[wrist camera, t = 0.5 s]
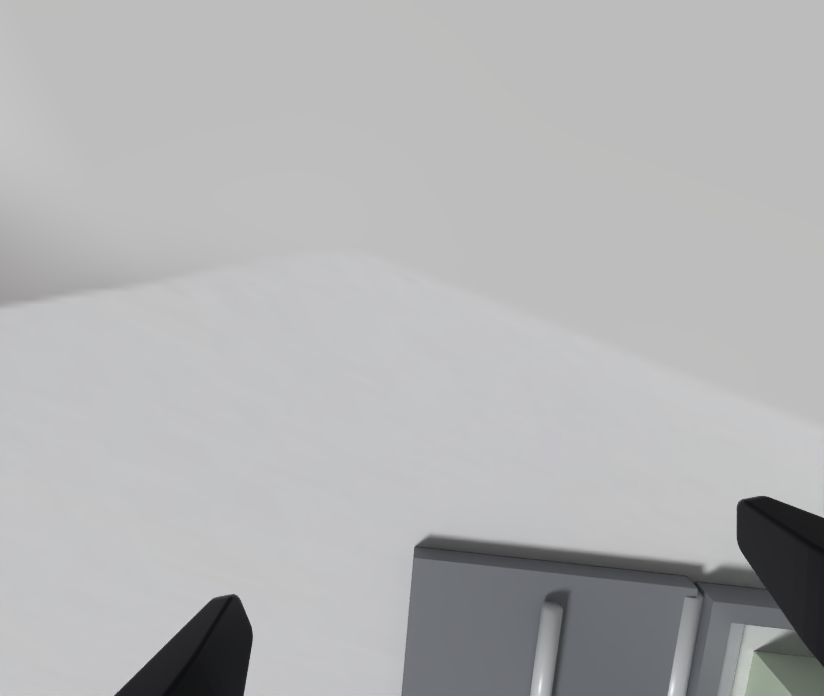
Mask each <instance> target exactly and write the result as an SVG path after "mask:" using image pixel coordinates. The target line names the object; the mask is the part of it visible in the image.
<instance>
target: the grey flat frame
mask: <svg viewBox="0 0 824 696" xmlns="http://www.w3.org/2000/svg"><path fill="white" fill-rule="evenodd" d="M744 625H754V626H763V627H772V628H781V629H790V630H794V628H793V627H792V625H791V624H790V622H789V621H788V620H787V618H786V617H785V615H784V614H783V612H782V611H781V609H780V608H779V606H778V605H777V603H776V602H775V600H774V599H773V598H772V596H771V595H770V593H769V592H768V590H765V589H756V588H747V587H738V586H729V585H720V584H710V583H701V582H696V586H695V585H694V584H693V583H692V581H691V580H690V579H689V578H688V577H687V576H679V575H670V574H661V573H651V572H642V571H633V570H624V569H614V568H605V567H596V566H587V565H578V564H568V563H559V562H550V561H541V560H532V559H522V558H513V557H504V556H495V555H485V554H476V553H467V552H458V551H449V550H439V549H430V548H421V547H415V548H414V559H413V570H412V582H411V593H410V605H409V616H408V628H407V639H406V651H405V662H404V674H403V685H402V696H731V691H732V686H733V681H734V676H735V671H736V665H737V660H738V655H739V650H740V645H741V640H742V635H743V630H744Z"/></svg>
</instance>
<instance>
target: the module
mask: <svg viewBox="0 0 824 696" xmlns="http://www.w3.org/2000/svg"><path fill="white" fill-rule="evenodd" d="M745 696H824V667H823V666H822V665H821V663H820V662H819V661H818V660H817V659H816V658H812V657H803V656H794V655H786V654H777V653H768V652H760V651H754V653H753V658H752V663H751V668H750V673H749V678H748V683H747V688H746V693H745Z"/></svg>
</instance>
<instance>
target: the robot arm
mask: <svg viewBox="0 0 824 696" xmlns="http://www.w3.org/2000/svg"><path fill="white" fill-rule="evenodd" d="M737 542H738V545H739V548H740V550H741V552H742V553H743V555H744V556H745V558H746V559H747V561H748V562H749V564H750V565H751V567H752V568H753V570H754V571H755V573H756V574H757V575H758V577H759V578H760V580H761V581H762V583H763V584H764V586H765V587H766V589H767V590H768V592H769V593H770V595H771V596H772V598H773V599H774V600H775V602H776V603H777V605H778V606H779V608H780V609H781V611H782V612H783V614H784V615H785V617H786V618H787V620H788V621H789V622H790V624H791V625H792V627H793V628H794V630H795V631H796V632H797V634H798V635H799V637H800V638H801V639H802V641H803V642H804V643H805V645H806V646H807V647H808V648H809V650H810V651H811V652H812V653H813V655H814V656H815V657H816V659H817V660H818V661H819V662H820V663H821V665H822V666H823V667H824V518H822V517H820V516H817V515H814V514H812V513H809V512H807V511H804V510H801V509H799V508H796V507H793V506H791V505H788V504H785V503H783V502H780V501H778V500H775V499H772V498H769V497H766V496H758V497H752V498H747V499H742V500H741V501H739V502H738V504H737ZM252 640H253V633H252V627H251V624H250V622H249V619H248V617H247V615H246V612H245V610H244V607H243V605H242V602H241V600H240V598H239V597H238V596H237V595H235V594H230V595H225V596H220V597H216V598H213V599H212V600H211V601H210V602H209V603H208V604H207V605H205V606H204V607H203V608H202V609H201V610H200V611H199V612H198V613H197V614H196V615H195V616H194V617H193V618H192V619H191V620H190V621H189V622H188V623H187V624H186V625H185V626H184V627H183V628H182V629H181V630H180V631H179V632H178V633H177V634H176V635H175V636H174V637H173V638H172V639H171V640H170V641H169V642H168V643H167V644H166V645H165V646H164V647H163V648H162V649H161V650H160V651H159V652H158V653H157V654H156V655H155V656H154V657H153V658H152V659H151V660H150V661H149V662H148V663H147V664H146V665H145V666H144V667H143V668H142V669H141V670H140V671H139V672H138V673H137V674H136V675H135V676H134V677H133V678H132V679H131V680H130V681H129V682H128V683H127V684H126V685H125V686H124V687H123V688H122V689H121V690H120V691H118V692H117V693H116V694H115V695H114V696H244V690H245V684H246V678H247V672H248V666H249V659H250V653H251V647H252Z"/></svg>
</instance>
